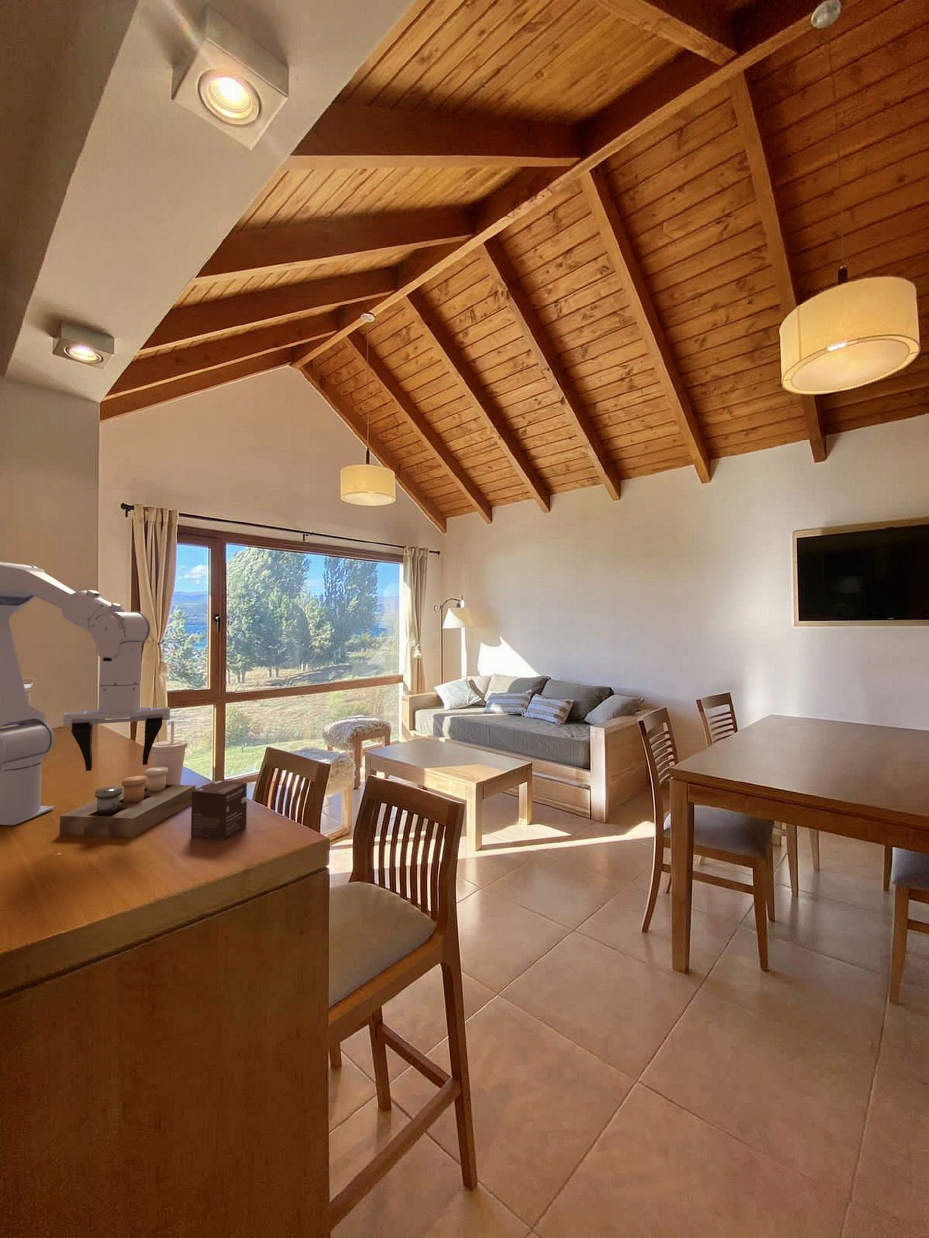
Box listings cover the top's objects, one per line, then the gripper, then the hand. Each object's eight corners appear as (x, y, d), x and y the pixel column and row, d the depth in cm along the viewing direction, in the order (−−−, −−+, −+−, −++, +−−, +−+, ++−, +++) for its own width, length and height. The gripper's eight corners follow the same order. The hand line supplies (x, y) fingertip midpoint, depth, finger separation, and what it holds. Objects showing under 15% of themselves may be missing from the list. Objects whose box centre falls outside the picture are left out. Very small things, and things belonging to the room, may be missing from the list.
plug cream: (140, 793, 94) (140, 771, 94) (153, 787, 98) (153, 766, 98) (159, 794, 94) (159, 772, 94) (171, 788, 98) (172, 766, 98)
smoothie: (193, 791, 104) (194, 720, 104) (160, 799, 99) (161, 725, 99) (175, 785, 107) (177, 717, 108) (142, 793, 102) (144, 722, 102)
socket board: (59, 834, 82) (60, 815, 82) (134, 799, 99) (134, 783, 99) (132, 837, 81) (133, 818, 81) (195, 801, 98) (195, 785, 98)
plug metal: (88, 818, 82) (89, 792, 82) (105, 810, 86) (106, 785, 86) (110, 818, 82) (111, 793, 82) (126, 810, 86) (127, 786, 86)
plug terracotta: (116, 805, 88) (116, 781, 88) (131, 798, 92) (131, 775, 92) (136, 805, 88) (137, 782, 88) (150, 798, 92) (151, 776, 92)
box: (223, 841, 80) (224, 793, 80) (189, 837, 82) (190, 790, 82) (247, 826, 86) (248, 782, 86) (215, 823, 87) (216, 779, 88)
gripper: (61, 688, 79) (59, 778, 79) (171, 684, 86) (169, 766, 86) (67, 683, 85) (64, 767, 85) (169, 680, 92) (167, 757, 92)
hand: (117, 766), depth 86 cm, fingers open, 7 cm apart
